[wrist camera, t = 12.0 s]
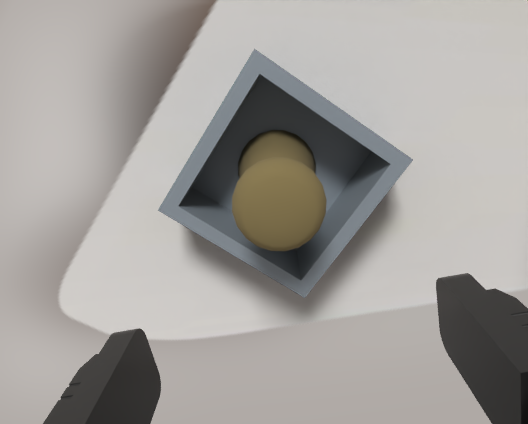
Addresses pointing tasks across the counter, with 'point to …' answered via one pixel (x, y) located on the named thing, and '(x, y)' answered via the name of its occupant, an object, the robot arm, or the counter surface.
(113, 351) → the robot arm
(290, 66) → the counter surface
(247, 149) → the cork
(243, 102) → the crate
